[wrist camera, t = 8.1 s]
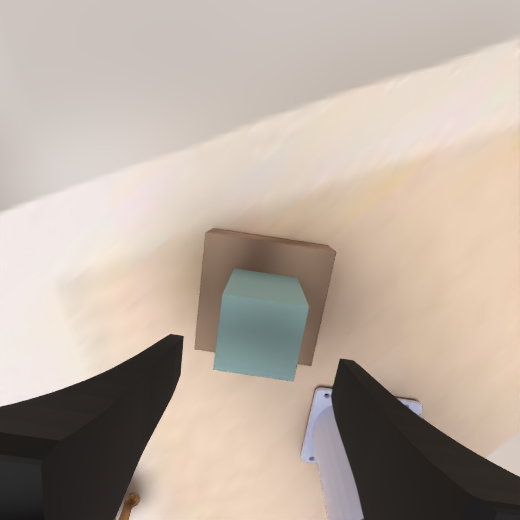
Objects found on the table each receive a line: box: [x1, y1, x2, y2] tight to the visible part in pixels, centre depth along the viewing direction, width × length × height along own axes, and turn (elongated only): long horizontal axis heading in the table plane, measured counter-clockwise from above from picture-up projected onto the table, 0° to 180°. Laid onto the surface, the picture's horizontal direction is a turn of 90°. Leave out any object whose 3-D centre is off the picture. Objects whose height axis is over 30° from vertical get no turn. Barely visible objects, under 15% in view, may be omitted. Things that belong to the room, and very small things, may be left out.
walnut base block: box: [195, 229, 336, 366], centre depth 20 cm, size 9×9×2 cm
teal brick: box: [213, 268, 309, 381], centre depth 16 cm, size 4×4×5 cm
